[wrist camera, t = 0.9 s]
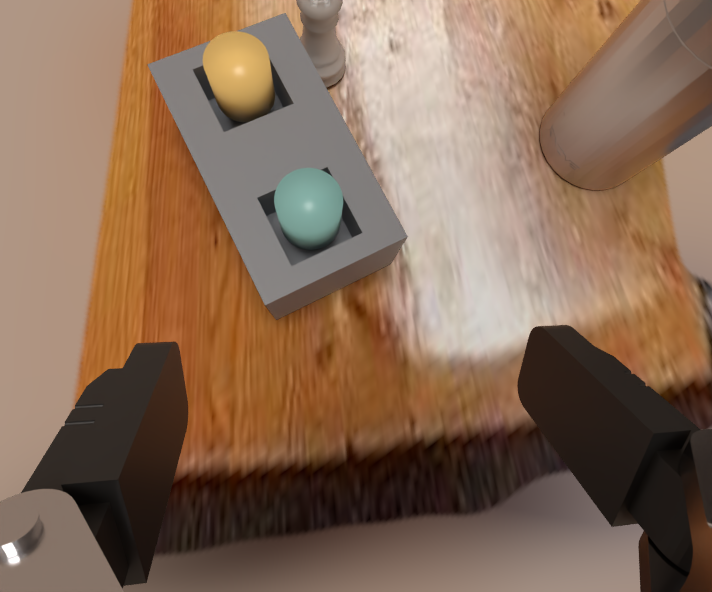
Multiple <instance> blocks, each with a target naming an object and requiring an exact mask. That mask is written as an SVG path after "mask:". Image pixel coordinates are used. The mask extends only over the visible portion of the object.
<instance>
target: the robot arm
mask: <svg viewBox="0 0 712 592" xmlns="http://www.w3.org/2000/svg"><path fill="white" fill-rule="evenodd" d="M711 126H712V0H641V1H640V2H639V3H638V4H637V5H636V7H635V8H634V9H633V10H632V11H631V12H630V14H629V15H628V16H627V17H626V18H625V19H624V21H623V22H622V23H621V24H620V25H619V27H618V28H617V29H616V30H615V31H614V32H613V34H612V35H611V36H610V37H609V38H608V39H607V41H606V42H605V43H604V44H603V45H602V47H601V48H600V49H599V50H598V51H597V52H596V54H595V55H594V56H593V57H592V58H591V60H590V61H589V62H588V63H587V64H586V65H585V67H584V68H583V69H582V70H581V71H580V72H579V74H578V75H577V76H576V77H575V78H574V79H573V80H572V82H571V83H570V84H569V85H568V86H567V88H566V89H565V90H564V91H563V92H562V94H561V95H560V96H559V97H558V98H557V100H556V101H555V102H554V103H553V104H552V106H551V107H550V108H549V109H548V110H547V112H546V113H545V115H544V117H543V120H542V122H541V127H540V143H541V147H542V151H543V153H544V155H545V157H546V159H547V161H548V163H549V164H550V165H551V167H552V168H553V170H554V171H555V172H556V173H558V174H559V175H560V176H561V177H562V178H563V179H565V180H566V181H568V182H570V183H571V184H573V185H576V186H578V187H581V188H584V189H590V190H606V189H610V188H614V187H616V186H618V185H620V184H622V183H624V182H625V181H627V180H628V179H630V178H631V177H633V176H635V175H636V174H638V173H639V172H641V171H642V170H644V169H645V168H647V167H649V166H650V165H652V164H653V163H655V162H657V161H658V160H660V159H661V158H663V157H664V156H666V155H667V154H669V153H671V152H672V151H674V150H675V149H677V148H678V147H680V146H681V145H683V144H684V143H686V142H688V141H689V140H691V139H692V138H694V137H695V136H697V135H698V134H700V133H702V132H703V131H705V130H706V129H708V128H709V127H711ZM518 394H519V398H520V401H521V403H522V405H523V407H524V408H525V409H526V411H527V412H528V414H529V415H530V416H531V418H532V419H533V420H534V422H535V423H536V424H537V426H538V427H539V428H540V430H541V431H542V433H543V434H544V435H545V437H546V438H547V439H548V441H549V442H550V443H551V445H552V446H553V447H554V449H555V450H556V452H557V453H558V454H559V456H560V457H561V458H562V460H563V461H564V462H565V464H566V465H567V466H568V468H569V469H570V471H571V472H572V473H573V475H574V476H575V477H576V479H577V480H578V481H579V483H580V484H581V486H582V487H583V488H584V490H585V491H586V492H587V494H588V495H589V496H590V497H591V499H592V500H593V502H594V503H595V504H596V505H597V507H598V509H599V510H600V511H601V513H602V514H603V515H604V516H605V518H606V519H607V521H608V522H609V524H610V525H611V526H613V527H614V526H622V525H630V524H639V525H640V526H641V527H642V529H643V530H644V532H643V534H642V536H641V538H640V540H639V564H640V565H639V566H640V585H641V586H640V589H641V592H712V429H703V430H700V429H699V428H698V427H697V426H696V425H694V424H693V423H692V422H691V421H690V420H688V419H687V418H686V417H685V416H684V415H683V414H681V413H680V412H679V411H678V410H677V409H675V408H674V407H673V406H672V405H671V404H669V403H668V402H667V401H666V400H665V399H664V398H662V397H661V396H660V395H659V394H658V393H656V392H655V391H654V390H653V389H652V388H650V387H649V386H647V387H646V386H645V382H643V381H642V380H641V379H640V378H639V377H637V376H636V375H635V374H631V371H630V370H629V369H628V368H627V367H626V366H624V365H623V364H622V363H621V362H620V361H618V360H617V359H616V358H615V357H614V356H612V355H610V354H608V353H606V352H604V351H602V350H600V349H598V348H597V347H595V346H593V345H592V344H591V343H590V342H589V341H587V340H586V339H585V338H584V337H583V336H582V335H580V334H579V333H578V332H577V331H576V330H575V329H574V328H572V327H571V326H568V325H558V326H538V327H535V328H533V329H532V331H531V333H530V335H529V339H528V342H527V346H526V350H525V354H524V358H523V362H522V366H521V370H520V374H519V378H518ZM187 423H188V401H187V394H186V388H185V382H184V375H183V369H182V363H181V356H180V351H179V347H178V344H177V343H176V342H157V343H138V344H136V345H135V347H134V348H133V350H132V352H131V354H130V356H129V358H128V359H127V361H126V363H125V365H124V367H123V368H121V369H108V370H107V371H105V372H104V373H103V374H102V375H100V376H99V377H98V378H97V379H95V380H94V381H93V382H92V383H90V384H89V385H88V386H87V387H86V389H85V390H84V392H83V393H82V395H81V397H80V398H79V400H78V401H77V403H76V405H75V409H73V410H72V411H71V413H70V414H69V416H68V418H67V419H66V421H65V426H63V427H61V429H60V431H59V432H58V434H57V435H56V437H55V439H54V440H53V442H52V444H51V445H50V447H49V449H48V450H47V452H46V453H45V455H44V457H43V458H42V460H41V462H40V463H39V465H38V466H37V468H36V470H35V471H34V473H33V475H32V476H31V478H30V479H29V481H28V482H27V484H26V486H25V487H24V489H23V491H22V492H21V494H18V495H14V496H12V497H10V498H7V499H5V500H3V501H1V502H0V592H124V591H123V586H125V585H133V584H140V583H147V579H148V575H149V571H150V568H151V564H152V560H153V556H154V552H155V548H156V545H157V541H158V537H159V533H160V529H161V525H162V522H163V518H164V514H165V510H166V506H167V502H168V499H169V495H170V491H171V487H172V483H173V479H174V476H175V472H176V468H177V464H178V460H179V456H180V453H181V449H182V445H183V441H184V437H185V433H186V429H187Z"/></svg>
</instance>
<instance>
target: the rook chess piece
mask: <svg viewBox="0 0 712 592" xmlns="http://www.w3.org/2000/svg"><path fill="white" fill-rule="evenodd" d="M296 1H297V5H298V7H299V9H300V10H301V13H300V17H301V21H302V23H303V25H304V26H303V34H302V36H301V37H300V41H301V43H302V44H303V46H304V48H305V50H306V52H307V54H308V55H309V57H310V59H311V61H312V63H313V64H314V66H315V68H316V70H317V72H318V74H319V75H320V77H321V79H322V81H323V83H324V85H325V86H326V87H328V86H331V85H333V84H335V83H337V82H338V81H339V80H340V79H341V78H342V77H343V74H344V71H345V68H346V66H345V51H344V48H343V47H342V45H341V43H340V41H339V40H338V38H337V36H336V30H335V26H336V25H337V22H338V20H339V19H338V12H339V11H340V9H341V6H342V3H343V2H342V0H296Z"/></svg>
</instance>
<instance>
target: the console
mask: <svg viewBox="0 0 712 592" xmlns="http://www.w3.org/2000/svg"><path fill="white" fill-rule="evenodd" d="M238 32H245V33H248V34H251V35H253V36H254V37H256V38H257V39H259V40H260V41H261V42H262V43H263V44H264V46H265V47H266V49H267V51H268V54H269V60H270V66H271V72H272V78H273V85H274V91H275V102H274V105H273V107H272V109H271V110H270V112H269V113H268V114H267V115H265V116H262V117H260V118H257V119H255V120H253V121H250V122H238V121H235V120H232V119H230V118H228V117H227V116H226V115H225V114H224V113H223V112H222V111H221V110H220V108H219V107H218V104H217V102H216V99H215V96H214V94H213V91H212V88H211V86H210V83H209V80H208V78H207V75H206V72H205V70H204V66H203V53H204V51H205V48H206V47H207V45H208V44H209V42H210V41H209V42H206V43H204V44H201V45H198V46H196V47H193V48H190V49H188V50H185V51H182V52H180V53H177V54H174V55H172V56H169V57H166V58H164V59H161V60H158V61H156V62H153V63H150V64H148V67H149V69H150V71H151V73H152V75H153V77H154V79H155V81H156V83H157V85H158V87H159V89H160V91H161V93H162V95H163V97H164V99H165V102H166V104H167V106H168V108H169V110H170V112H171V114H172V116H173V118H174V120H175V122H176V124H177V126H178V128H179V130H180V132H181V134H182V136H183V138H184V140H185V142H186V145H187V147H188V149H189V151H190V153H191V155H192V157H193V159H194V161H195V163H196V165H197V167H198V169H199V171H200V173H201V175H202V177H203V179H204V181H205V183H206V185H207V188H208V190H209V192H210V194H211V196H212V198H213V200H214V202H215V204H216V206H217V208H218V210H219V212H220V214H221V216H222V218H223V220H224V222H225V224H226V226H227V228H228V230H229V233H230V235H231V237H232V239H233V241H234V243H235V245H236V247H237V249H238V251H239V253H240V255H241V257H242V259H243V261H244V263H245V265H246V267H247V269H248V271H249V273H250V276H251V278H252V280H253V282H254V284H255V286H256V288H257V290H258V292H259V294H260V296H261V298H262V300H263V302H264V304H265V306H266V307H267V309H268V310H269V311H270V312H271V314H272V315H273V316H274V318H275V319H276V320H277V319H279V318H281V317H284V316H286V315H288V314H290V313H292V312H294V311H296V310H298V309H300V308H302V307H304V306H306V305H308V304H310V303H312V302H314V301H316V300H318V299H320V298H322V297H324V296H326V295H329V294H331V293H333V292H335V291H337V290H339V289H341V288H343V287H345V286H347V285H349V284H351V283H353V282H355V281H357V280H359V279H361V278H363V277H365V276H367V275H369V274H371V273H373V272H376V271H378V270H380V269H382V268H384V267H386V266H388V265H390V264H391V263H392V261H393V260H394V258H395V256H396V255H397V253H398V251H399V250H400V248H401V247H402V245H403V243H404V242H405V240H406V239H407V237H408V236H407V235H406V233H405V231H404V229H403V227H402V225H401V224H400V222H399V220H398V218H397V216H396V214H395V213H394V211H393V209H392V207H391V205H390V204H389V202H388V200H387V198H386V196H385V194H384V193H383V191H382V189H381V187H380V185H379V183H378V182H377V180H376V178H375V176H374V174H373V172H372V171H371V169H370V167H369V165H368V163H367V161H366V160H365V158H364V156H363V154H362V152H361V150H360V149H359V147H358V145H357V143H356V141H355V139H354V138H353V136H352V134H351V132H350V130H349V129H348V127H347V125H346V123H345V121H344V119H343V118H342V116H341V114H340V112H339V110H338V108H337V107H336V105H335V103H334V101H333V99H332V97H331V96H330V94H329V92H328V90H327V88H326V86H325V85H324V83H323V81H322V79H321V77H320V75H319V74H318V72H317V70H316V68H315V66H314V64H313V63H312V61H311V59H310V57H309V55H308V54H307V52H306V50H305V48H304V46H303V44H302V43H301V41H300V39H299V37H298V35H297V33H296V32H295V30H294V28H293V26H292V24H291V22H290V21H289V19H288V17H287V15H286V13H284V14H281V15H278V16H276V17H273V18H270V19H268V20H265V21H262V22H260V23H257V24H254V25H252V26H249V27H246V28H244V29H241V30H238ZM301 168H315V169H319V170H322V171H324V172H326V173H328V174H329V175H331V176H332V177H333V178H334V179H335V180H336V181H337V183H338V184H339V186H340V188H341V191H342V194H343V208H342V216H341V223H340V229H339V232H338V234H337V236H336V237H335V239H334V240H333V241H332V242H331V243H330V244H328V245H327V246H325V247H323V248H320V249H316V250H305V249H301V248H298V247H296V246H294V245H293V244H291V243H290V242H289V241H288V240H287V239H286V238H285V236H284V235H283V233H282V231H281V227H280V224H279V220H278V216H277V212H276V209H275V204H274V196H275V191H276V188H277V186H278V184H279V183H280V181H281V180H282V179H283V178H284V177H285V176H286V175H287V174H289V173H290V172H292V171H295V170H297V169H301Z"/></svg>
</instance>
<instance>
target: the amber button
mask: <svg viewBox="0 0 712 592" xmlns="http://www.w3.org/2000/svg"><path fill="white" fill-rule="evenodd" d="M203 66H204V70H205V72H206V75H207V78H208V80H209V83H210V86H211V88H212V91H213V94H214V96H215V99H216V102H217V104H218V107H219V108H220V110H221V111H222V112H223V113H224V114H225V115H226V116H227V117H228V118H230V119H232V120H235V121H238V122H250V121H253V120H255V119H257V118H260V117H262V116H265V115H267V114H268V113H269V112H270V110H271V109H272V107H273V105H274V102H275V91H274V85H273V78H272V72H271V66H270V60H269V54H268V51H267V49H266V47H265V46H264V44H263V43H262V42H261V41H260V40H259V39H257V38H256V37H254V36H253V35H251V34H248V33H245V32H238V31H233V32H226V33H223V34H221V35H218V36H217V37H215V38H214V39H213V40H211V41H210V42H209V44H208V45H207V47H206V48H205V51H204V53H203Z"/></svg>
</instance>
